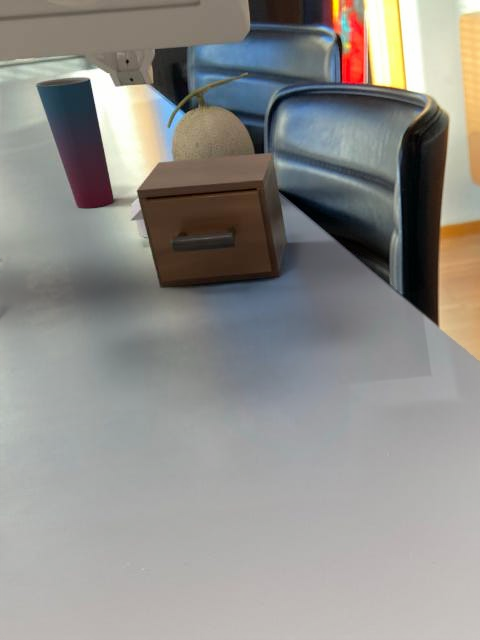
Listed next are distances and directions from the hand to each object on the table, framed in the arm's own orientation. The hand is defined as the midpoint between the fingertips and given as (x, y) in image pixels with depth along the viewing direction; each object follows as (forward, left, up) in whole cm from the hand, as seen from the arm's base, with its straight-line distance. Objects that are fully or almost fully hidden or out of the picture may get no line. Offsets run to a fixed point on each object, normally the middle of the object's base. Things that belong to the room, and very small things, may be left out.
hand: (134, 77), depth 79 cm
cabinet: (0, +26, -21) cm, 33 cm away
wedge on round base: (-8, +42, -22) cm, 48 cm away
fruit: (-4, +56, -22) cm, 60 cm away
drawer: (0, +22, -20) cm, 30 cm away
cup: (-22, +62, -22) cm, 69 cm away
